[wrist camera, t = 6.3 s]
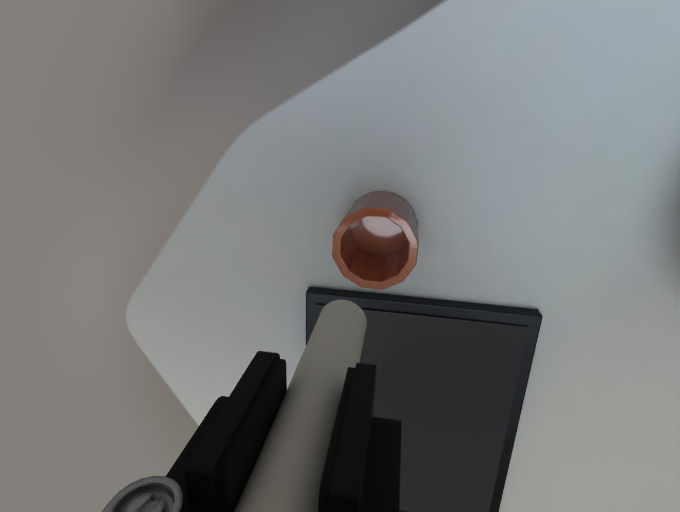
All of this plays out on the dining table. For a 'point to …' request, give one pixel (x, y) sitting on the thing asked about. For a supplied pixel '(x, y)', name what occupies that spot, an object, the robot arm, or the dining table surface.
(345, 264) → the pen cup
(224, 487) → the robot arm
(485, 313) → the tablet
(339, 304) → the stylus
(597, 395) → the dining table surface
